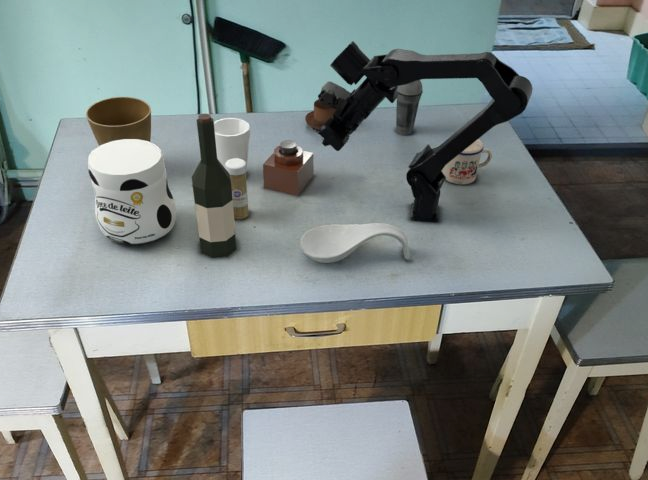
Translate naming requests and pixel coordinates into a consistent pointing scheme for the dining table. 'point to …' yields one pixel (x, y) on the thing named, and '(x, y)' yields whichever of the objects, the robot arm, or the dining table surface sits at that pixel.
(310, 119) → the cup and saucer
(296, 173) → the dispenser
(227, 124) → the foam cup
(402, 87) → the beverage cup
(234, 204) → the sprinkles bottle
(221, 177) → the wine bottle
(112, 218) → the milk container
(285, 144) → the dark grey short cylinder
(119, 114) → the plant pot
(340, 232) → the spoon rest
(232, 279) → the dining table surface
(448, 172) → the teacup with lid
